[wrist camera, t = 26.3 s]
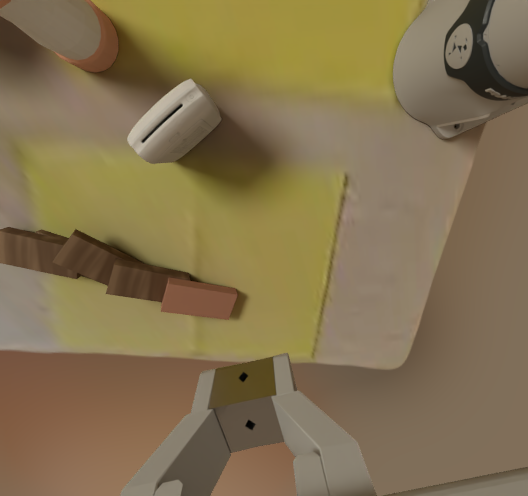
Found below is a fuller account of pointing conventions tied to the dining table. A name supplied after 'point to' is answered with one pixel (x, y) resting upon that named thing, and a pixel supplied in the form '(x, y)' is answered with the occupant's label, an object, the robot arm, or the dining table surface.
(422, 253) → the dining table surface
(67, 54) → the pepper shaker
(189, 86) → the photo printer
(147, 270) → the walnut domino
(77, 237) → the walnut domino
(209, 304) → the terracotta domino
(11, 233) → the walnut domino
